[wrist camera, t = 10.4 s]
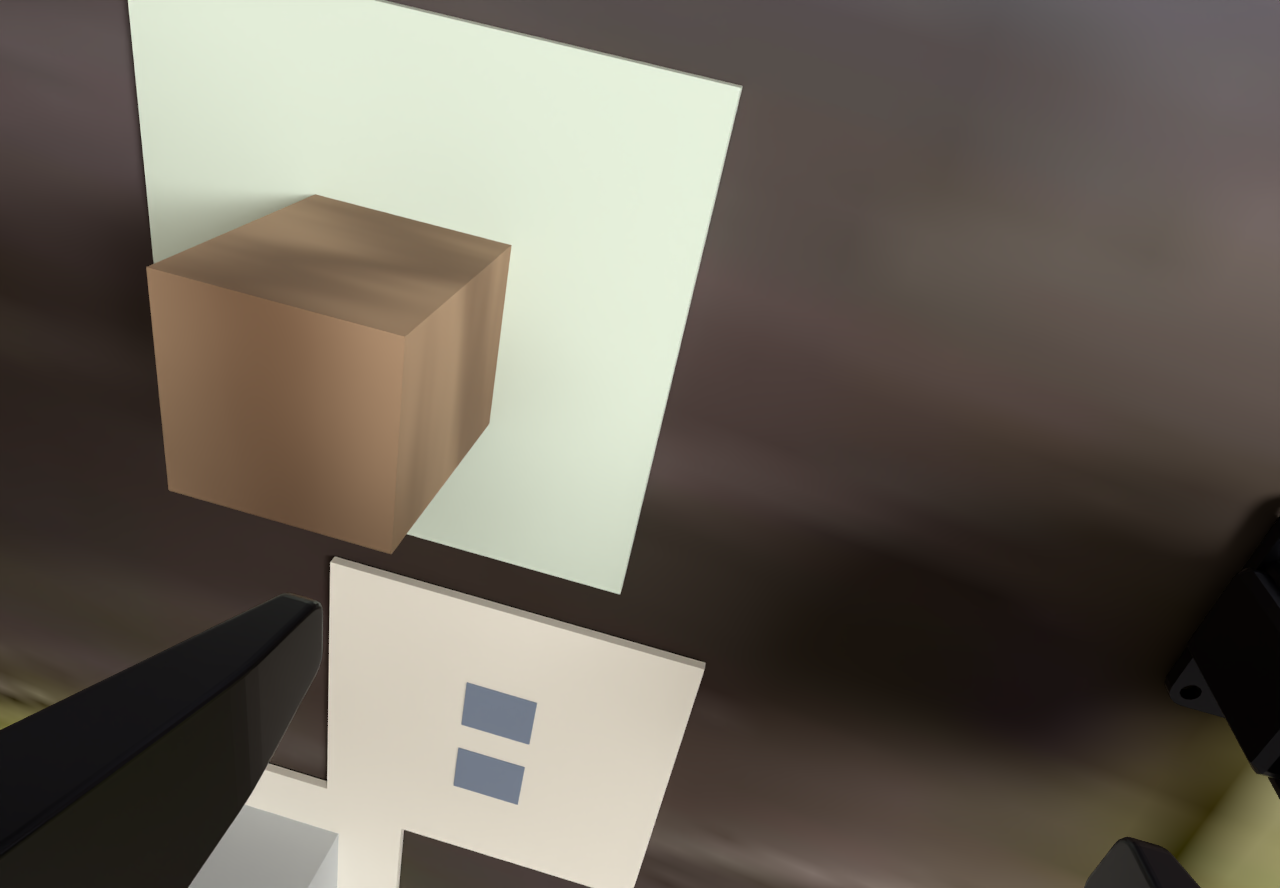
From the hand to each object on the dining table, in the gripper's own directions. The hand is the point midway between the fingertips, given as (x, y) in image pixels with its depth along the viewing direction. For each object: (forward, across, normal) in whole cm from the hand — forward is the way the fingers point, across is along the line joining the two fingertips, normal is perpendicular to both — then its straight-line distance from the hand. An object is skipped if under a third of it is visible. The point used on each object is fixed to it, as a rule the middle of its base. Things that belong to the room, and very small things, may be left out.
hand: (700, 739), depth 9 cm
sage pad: (+13, +9, +2) cm, 16 cm away
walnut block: (+13, +9, +2) cm, 16 cm away
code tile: (+13, +5, +17) cm, 22 cm away
